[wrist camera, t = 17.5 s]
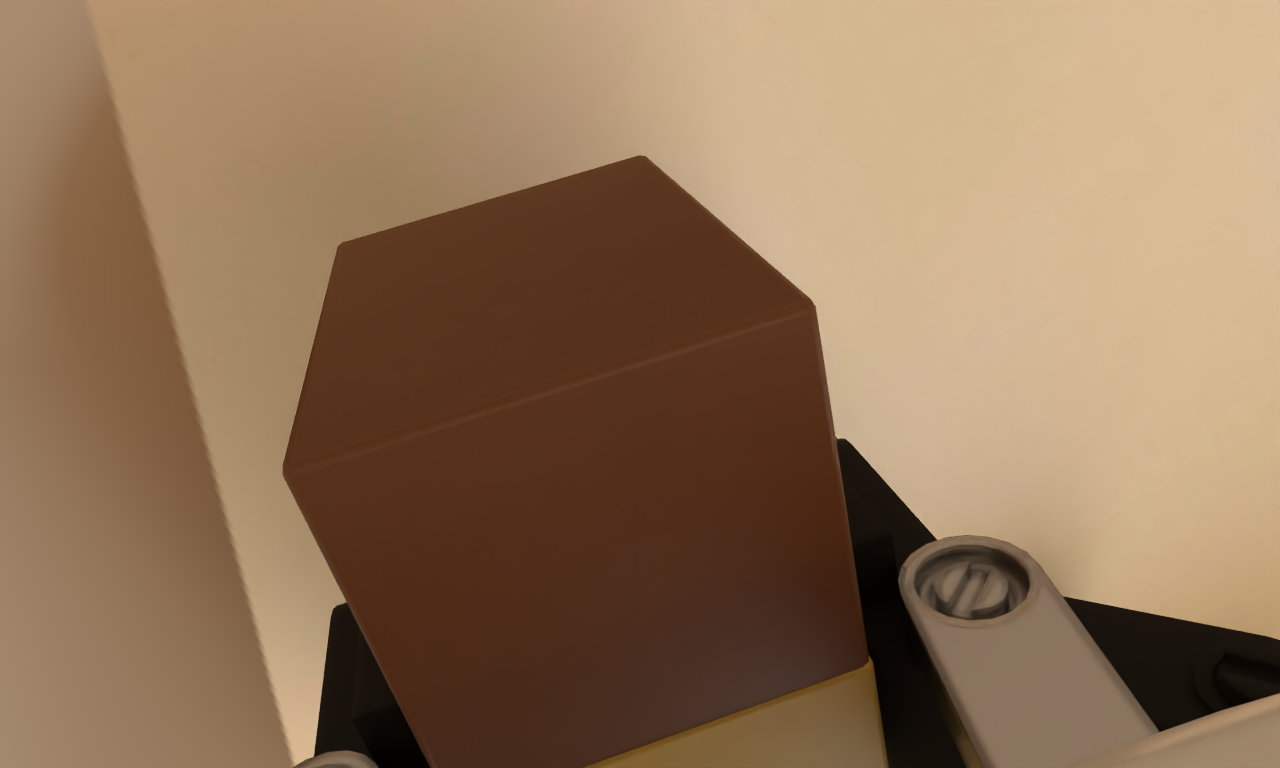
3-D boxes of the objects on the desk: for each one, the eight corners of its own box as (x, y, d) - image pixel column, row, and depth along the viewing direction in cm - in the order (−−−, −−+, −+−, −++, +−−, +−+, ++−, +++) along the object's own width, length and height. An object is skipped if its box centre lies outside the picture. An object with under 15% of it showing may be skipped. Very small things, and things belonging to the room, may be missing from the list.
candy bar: (553, 777, 14) (619, 1152, 10) (333, 242, 10) (271, 473, 6) (771, 699, 15) (930, 1027, 10) (646, 151, 10) (824, 299, 6)
